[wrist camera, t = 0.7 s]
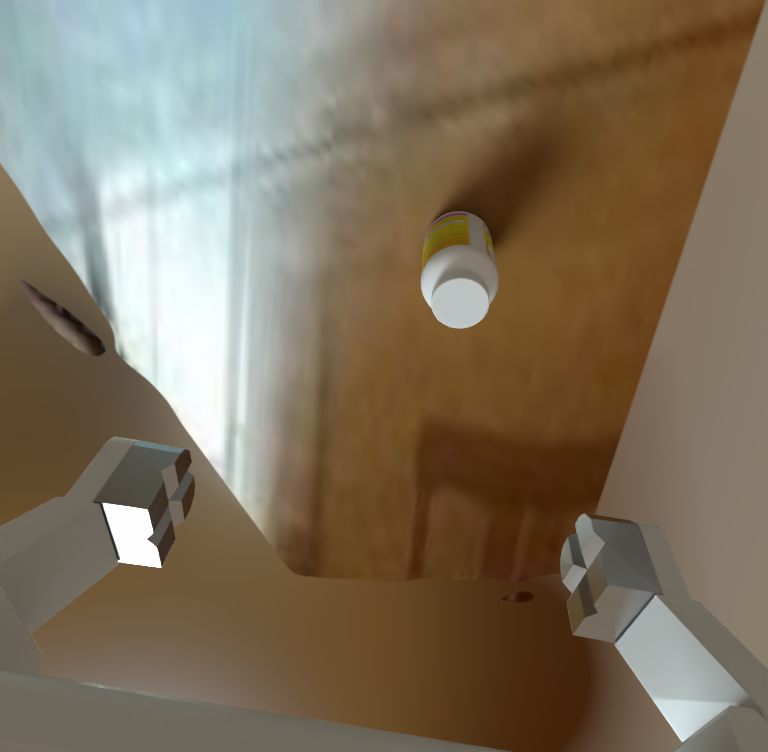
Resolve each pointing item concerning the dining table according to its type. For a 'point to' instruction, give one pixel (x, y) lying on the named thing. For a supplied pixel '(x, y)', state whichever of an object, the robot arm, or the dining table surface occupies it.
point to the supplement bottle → (459, 269)
